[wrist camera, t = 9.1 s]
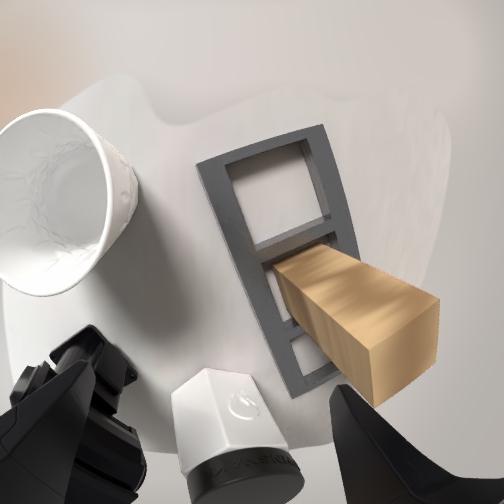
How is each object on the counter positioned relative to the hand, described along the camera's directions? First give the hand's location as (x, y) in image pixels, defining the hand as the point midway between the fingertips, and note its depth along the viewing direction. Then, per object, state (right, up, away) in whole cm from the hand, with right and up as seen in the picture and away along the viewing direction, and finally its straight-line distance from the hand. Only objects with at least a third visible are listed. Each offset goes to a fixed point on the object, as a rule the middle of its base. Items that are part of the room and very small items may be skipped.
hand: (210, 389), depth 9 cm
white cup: (-10, +9, +9) cm, 16 cm away
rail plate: (+6, +3, +15) cm, 16 cm away
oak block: (+6, +3, +15) cm, 16 cm away
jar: (-2, -10, +16) cm, 19 cm away
